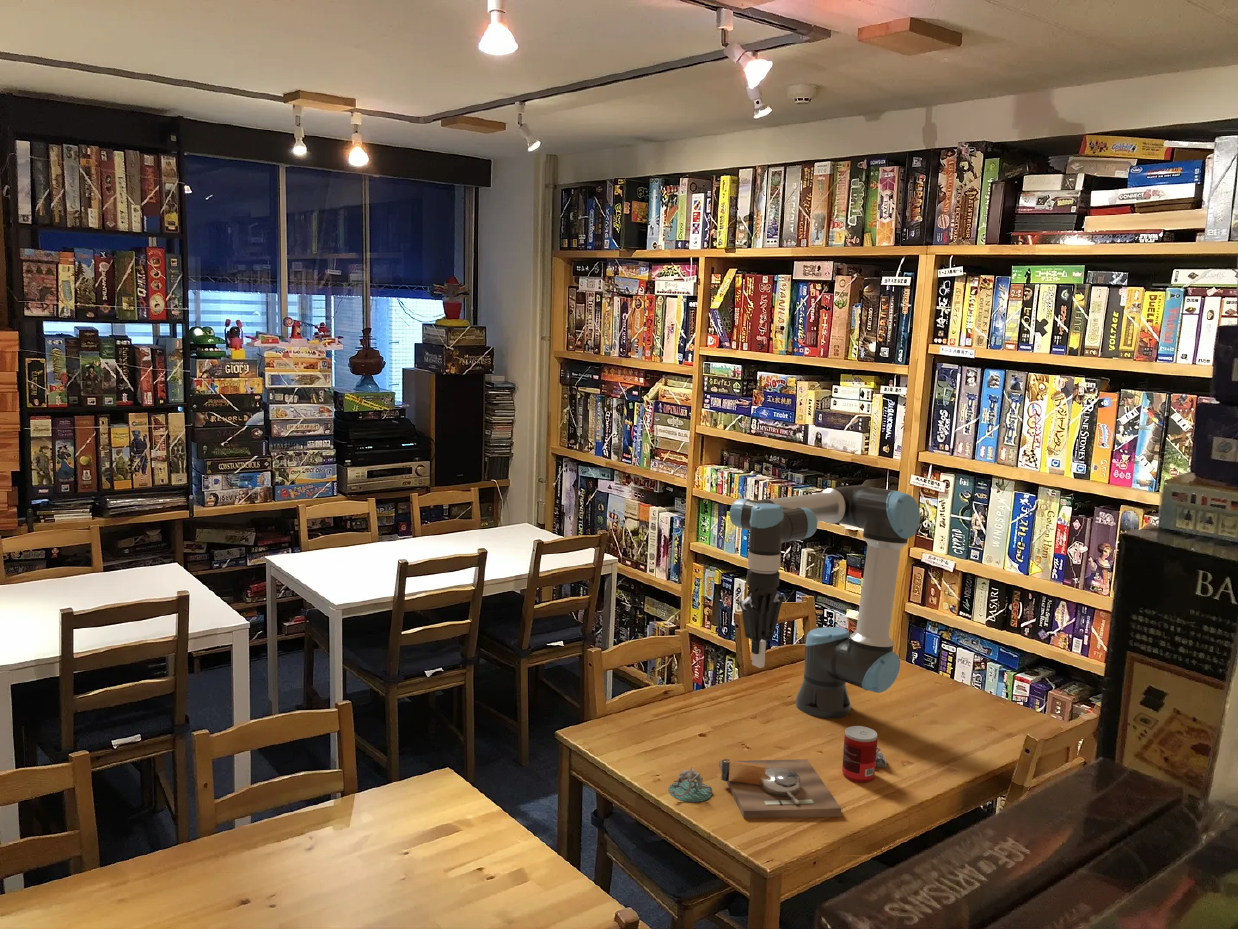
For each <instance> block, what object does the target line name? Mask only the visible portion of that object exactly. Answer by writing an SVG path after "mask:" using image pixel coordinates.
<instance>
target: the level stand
mask: <svg viewBox="0 0 1238 929" xmlns="http://www.w3.org/2000/svg"><path fill="white" fill-rule="evenodd" d="M736 761H737V762H745V763H753V764H760V765H766V769H770V768H782V769H787V770H790V771H793V772H795V773H796V774H798V775H799V776H800V779H801V780H800V791H799V793H798V794H796V795H794V797H795V798H796V799H797V800H798V801H799V804H795V803H794V802H793V801H792V800H791V799H790V798H789V797H778V796H774V795H770V794H768V793H766V792H764V791H763V790H762V789H761V787H760V785H756V784H749V783H741V782H734V781H725V782H726V785H727V786H728V788H729V791H730V792H731V794H732V798H733V799H734V801H735V803H736V804H735V805H737V808H738V810H739V812H740V814H741V816H742V819H746V820H747V819H801V818H803V819H810V818H812V819H813V818H841V817H842V807H841V806H840V804H839V803H838V801H837V800H836V798H835V797H834V796H833V794H832V793H831V791H830V790H829V788H828V787H827V786H826V784H825V783H824V781H823V780H822V778H821V777H820V776H819V774H818V772H817V771H816V770H815V768H814V767H813V765H812V764H811V763H810V761H809V760H808V759H807V758H806V759H805V758H804V759H803V758H802V759H763V760H762V759H759V760H758V759H757V760H756V759H755V760H754V759H753V760H736ZM718 762H719V763H718V764H719V765H718V767H719V769H720V772H721V773H722V760H720V761H718Z"/></svg>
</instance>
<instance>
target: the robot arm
mask: <svg viewBox="0 0 1238 929" xmlns="http://www.w3.org/2000/svg"><path fill="white" fill-rule="evenodd" d="M729 520H730V522H731V524H732V525H733V526H735V527H737V528H739V529H742V530H747V531H749V539H748V540H749V542H748V544H749V545H748V559H747V560H748V561H747V568H748V569H747V573H746V574H747V575H746V584H747V586H748V591H747V593H746V594H747V595H746V598H745V599H744V600H740V601H739V602H738V604H739V608H740V609H741V614H742V620H743V628H744V636H745V638H747V639H749V640H751V648H750V650H751V651H750V652H751V653H752V657H751V660H752V661H751V665H752V666H754V667H757V668H758V669H761V668H762V669H763V668H765V664H766V663H765V662H766V652H767V650H768V642H770V641H771V639H772V637H773V636H775V633H776V628H777V624H778V620H779V614H780V610H781V606H782V604H783V602H784V600H785V596H783V595H781V594H779V593H778V590H777V588H778V587H779V586H780V576H781V573H780V572H779V570H781V555H782V544H783V543H786V542H787V543H788V542H793V541H802V540H805V539H807V538H811V537H812V536H813V535H814V534H815V533H816V531H817V530H818V522H819V523H820V522H825V523H827V524H830V525H831V524H832V525H833V524H840V525H841V524H842V525H846V526H851V527H854V528H855V527H856V528H859V529H862V530H863V532H862V533H863V534H862V539H863V540H864V541H865V542H866V543H867V547H866V555H865V561H864V562H865V563H864V568H863V569H864V570H863V578H862V585H861V591H860V592H861V593H860V600H859V606H858V607H859V608H858V615H857V623H856V630H855V631H854V632H853V633H851V634H850V632H849V631H848V630H847V629H845V628H842V627H832V626H827V627H818V628H814V629H811V630H809V631H808V632H807V634H806V641H805V644H804V645H805V650H804V652H805V653H804V668H803V671H804V672H803V681H802V682H801V686H800V688H799V690H798V692H797V694H796V698H795V707H796V708H797V709H798V710H799V711H801V713H803V714H806V715H809V716H812V717H815V718H820V719H828V720H829V719H830V720H832V719H834V720H835V719H842V718H845V717H847V716H849V715H850V713H851V707H852V706H851V701H850V700H851V699H850V696H849V692H848V689H847V684H850V685H853V686H855V687H858V688H860V689H862V690H864V691H869V692H873V693H878V694H880V693H881V694H882V693H883V692H886V691H887V690H889V688H891V687H892V685H893V684H894V683H895V681H896V680H897V678H898V675H899V673H900V668H901V660H900V655H898V654H897V653H895V652H894V644H895V643H894V642H893V640H892V638H891V637H890V631H891V630H890V629H891V622H892V614H893V607H894V601H895V592H896V586H897V585H896V584H897V579H898V570H899V563H900V556H901V550H902V548H903V547H905V546H907V545H908V540H909V539H910V538H911V539H912V538H913V537H914V536H915V535H916V534H917V530H919V528H920V522H921V511H920V507H919V504H918V502H917V501H916V499H915V497H913V496H912V495H911V494H909V493H905V492H901V491H899V490H891V489H887V488H881V487H880V488H879V487H874V486H869V485H862V484H861V485H859V484H858V485H848V486H847V485H846V486H838V487H831V488H830V487H829V488H825V489H823V490H822V491H821V492H820V493H811V494H802V495H794V496H793V495H791V496H784V497H776V498H767V499H755V500H754V499H750V498H738V499H736V500H735V501H734V502H733V503H732V504H731V506H730V509H729ZM771 636H772V637H771ZM846 683H847V684H846Z"/></svg>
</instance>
